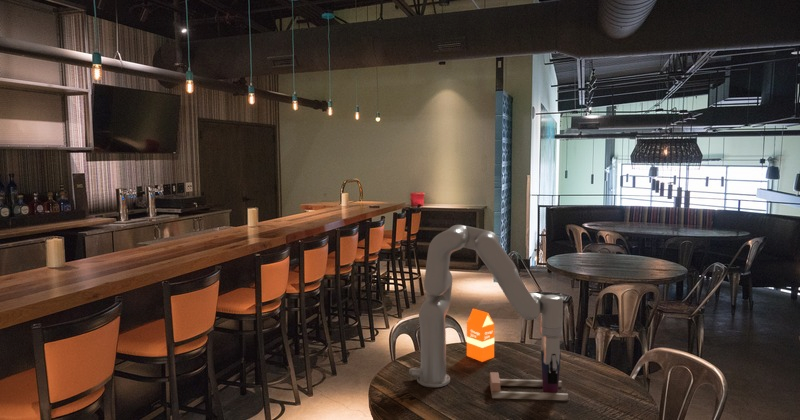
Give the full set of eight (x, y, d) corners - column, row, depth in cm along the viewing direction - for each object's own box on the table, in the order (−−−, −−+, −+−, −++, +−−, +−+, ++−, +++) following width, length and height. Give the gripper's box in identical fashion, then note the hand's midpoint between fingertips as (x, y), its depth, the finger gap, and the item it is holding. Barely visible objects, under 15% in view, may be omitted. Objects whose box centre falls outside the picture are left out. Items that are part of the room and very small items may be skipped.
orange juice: (478, 351, 224) (478, 306, 222) (494, 357, 217) (494, 311, 215) (466, 355, 219) (466, 310, 217) (482, 362, 212) (482, 314, 210)
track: (492, 397, 181) (492, 384, 180) (489, 383, 192) (489, 370, 192) (568, 400, 178) (568, 386, 178) (561, 385, 190) (561, 372, 189)
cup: (536, 389, 187) (537, 349, 185) (552, 387, 189) (553, 347, 187) (547, 398, 180) (548, 356, 179) (564, 395, 182) (564, 354, 181)
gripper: (536, 322, 191) (535, 369, 193) (544, 338, 174) (544, 389, 176) (557, 322, 190) (556, 369, 192) (567, 339, 173) (566, 390, 175)
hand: (550, 378), depth 184 cm, fingers closed on cup, 6 cm apart
